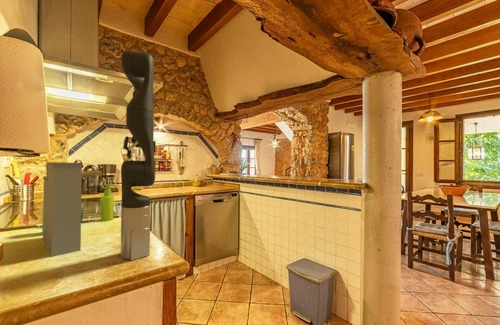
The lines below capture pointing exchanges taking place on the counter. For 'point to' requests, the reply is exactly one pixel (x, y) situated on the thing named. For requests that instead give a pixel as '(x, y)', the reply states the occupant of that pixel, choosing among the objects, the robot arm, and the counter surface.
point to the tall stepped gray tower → (62, 208)
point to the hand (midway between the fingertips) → (138, 159)
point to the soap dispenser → (107, 204)
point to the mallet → (84, 173)
